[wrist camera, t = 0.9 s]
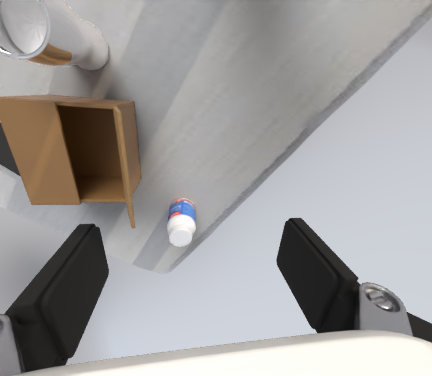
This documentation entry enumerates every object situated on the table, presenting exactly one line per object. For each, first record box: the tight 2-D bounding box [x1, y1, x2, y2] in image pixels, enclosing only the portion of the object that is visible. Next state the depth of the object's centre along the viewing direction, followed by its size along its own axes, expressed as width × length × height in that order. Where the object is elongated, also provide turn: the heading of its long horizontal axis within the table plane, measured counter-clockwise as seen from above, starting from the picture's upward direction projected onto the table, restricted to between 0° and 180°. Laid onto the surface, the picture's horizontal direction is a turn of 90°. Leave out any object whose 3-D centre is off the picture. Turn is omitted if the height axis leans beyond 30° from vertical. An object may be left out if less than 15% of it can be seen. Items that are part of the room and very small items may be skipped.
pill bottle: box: [167, 198, 196, 247], centre depth 39 cm, size 6×5×10 cm
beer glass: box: [0, 0, 109, 70], centre depth 23 cm, size 7×7×15 cm
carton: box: [0, 95, 141, 205], centre depth 31 cm, size 13×14×10 cm
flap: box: [113, 106, 135, 229], centre depth 25 cm, size 6×14×1 cm
